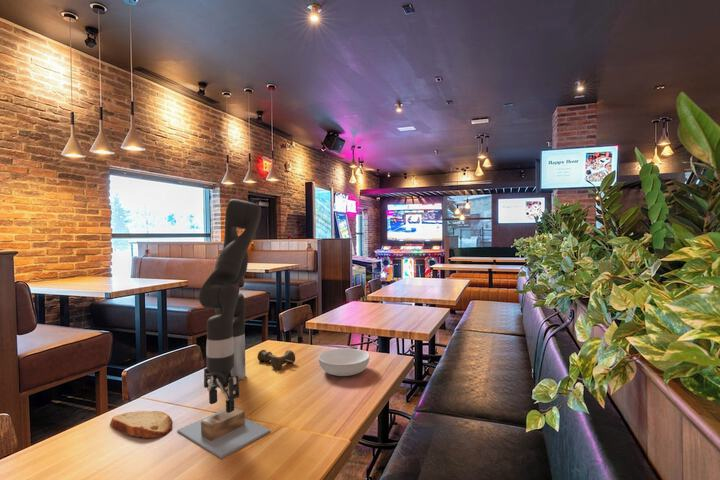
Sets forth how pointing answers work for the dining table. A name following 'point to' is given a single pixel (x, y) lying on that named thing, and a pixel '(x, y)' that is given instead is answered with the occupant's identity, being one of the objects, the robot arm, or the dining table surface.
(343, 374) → the serving bowl
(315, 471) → the dining table surface
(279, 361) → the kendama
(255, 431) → the slate mat
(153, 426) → the bread slice
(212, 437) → the brown rectangular block
